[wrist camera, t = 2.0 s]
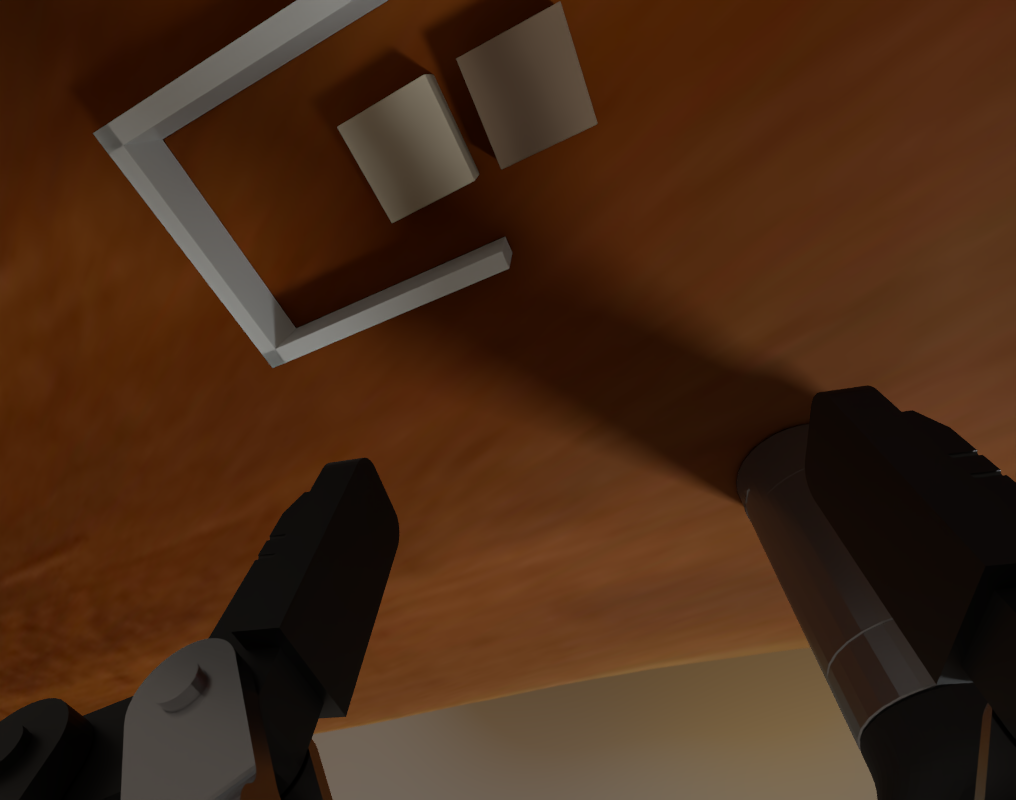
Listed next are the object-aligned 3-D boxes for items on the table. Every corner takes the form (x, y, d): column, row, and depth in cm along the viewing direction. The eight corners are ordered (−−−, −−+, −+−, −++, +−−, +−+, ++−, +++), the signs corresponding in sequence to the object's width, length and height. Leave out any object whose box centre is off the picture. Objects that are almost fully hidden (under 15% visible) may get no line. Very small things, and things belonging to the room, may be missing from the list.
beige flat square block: (558, 8, 23) (560, 1, 21) (592, 120, 26) (597, 123, 24) (463, 60, 25) (455, 58, 23) (504, 162, 27) (501, 169, 25)
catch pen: (388, -33, 23) (369, -48, 20) (512, 252, 29) (509, 268, 27) (135, 128, 27) (92, 133, 24) (293, 346, 33) (272, 368, 31)
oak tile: (434, 74, 25) (424, 74, 23) (480, 173, 27) (474, 180, 25) (353, 123, 26) (336, 127, 24) (403, 213, 29) (391, 223, 27)
